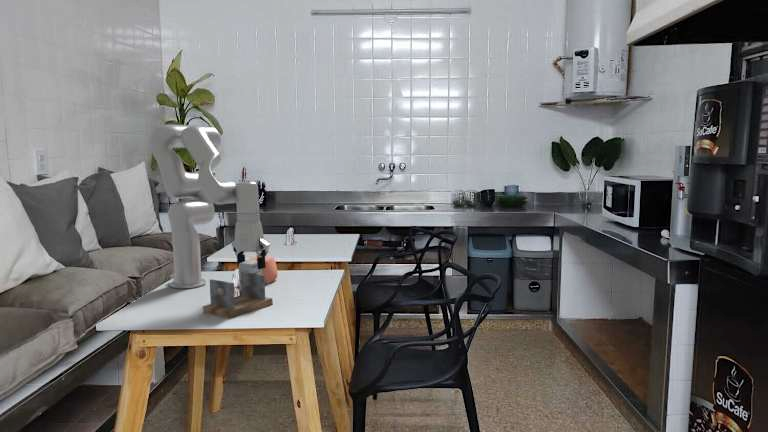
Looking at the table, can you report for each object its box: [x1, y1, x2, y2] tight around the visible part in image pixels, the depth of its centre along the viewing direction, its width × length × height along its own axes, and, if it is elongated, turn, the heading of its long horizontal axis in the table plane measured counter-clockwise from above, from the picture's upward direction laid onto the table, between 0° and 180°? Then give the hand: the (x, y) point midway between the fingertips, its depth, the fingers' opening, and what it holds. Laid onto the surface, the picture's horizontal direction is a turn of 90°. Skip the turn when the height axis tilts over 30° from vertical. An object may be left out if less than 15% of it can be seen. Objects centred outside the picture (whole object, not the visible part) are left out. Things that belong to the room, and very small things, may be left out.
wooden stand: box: [202, 272, 274, 319], centre depth 182 cm, size 12×18×10 cm, turn 147°
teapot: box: [245, 254, 279, 285], centre depth 218 cm, size 12×18×10 cm, turn 169°
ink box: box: [238, 259, 261, 296], centre depth 198 cm, size 9×5×12 cm, turn 168°
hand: (251, 267), depth 197 cm, fingers open, 9 cm apart
